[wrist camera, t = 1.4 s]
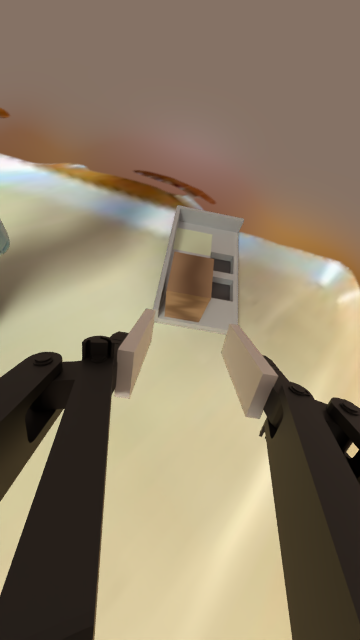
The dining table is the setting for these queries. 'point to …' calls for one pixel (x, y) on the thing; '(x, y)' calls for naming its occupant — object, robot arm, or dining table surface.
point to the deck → (221, 245)
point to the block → (189, 287)
